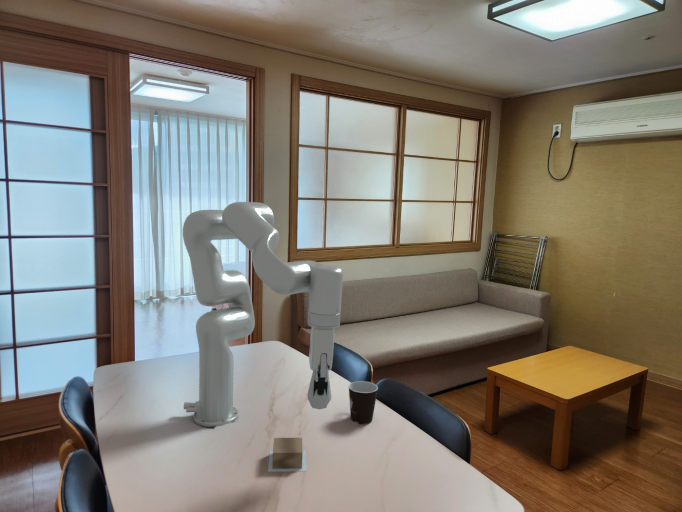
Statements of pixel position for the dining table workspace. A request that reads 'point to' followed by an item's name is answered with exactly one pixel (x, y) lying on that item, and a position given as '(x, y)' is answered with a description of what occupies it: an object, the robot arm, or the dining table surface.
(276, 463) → the base block
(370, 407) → the coffee mug
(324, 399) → the salt shaker
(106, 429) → the dining table surface
